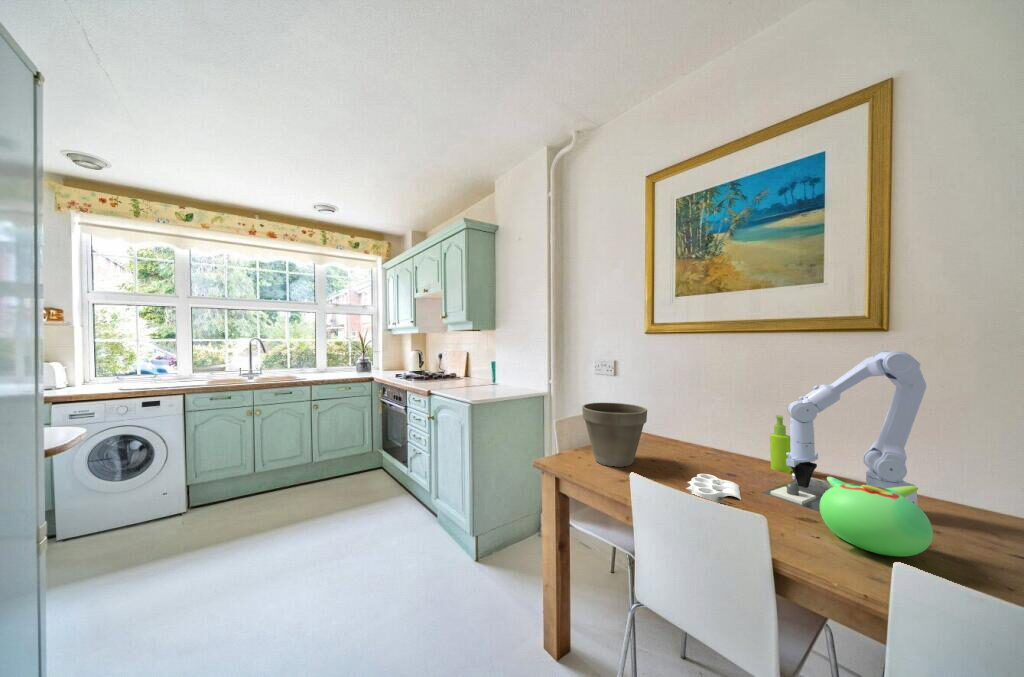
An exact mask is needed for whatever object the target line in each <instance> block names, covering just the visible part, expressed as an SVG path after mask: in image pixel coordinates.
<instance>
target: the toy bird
mask: <svg viewBox="0 0 1024 677" xmlns="http://www.w3.org/2000/svg"><path fill="white" fill-rule="evenodd" d="M826 481H828V482H829V483H830V484H831V486H832V488H830V489H828V490H827V491H826V492H825V493H824V494H823V495H822V497H821V500H820V510H819V512H820V513H819V514H820V516H821V518H822V520H823V522H824V524H825V525H826V527H828V528H829V530H830V531H831V532H832V533H834V535H836V536H837V537H839V538H841V540H843V541H845V542H847V543H849V544H851V545H853V546H855V547H857V548H859V549H862V550H865V551H868V552H871V553H873V554H878V555H883V556H887V557H888V556H889V557H903V558H904V557H910V556H911V557H912V556H917V555H919V554H922V553H923V552H925V551H926V550H927V549H928V548H929V547H930V545H931V543H932V541H933V537H934V532H933V531H934V530H933V526H932V523H931V521H930V519H929V518H928V515H927V514H926V513H925V512H924V511H923V509H921V508H920V507H919V506H918V504H917V505H915V504H914V503H913V502H911V501H910V500H908V499H907V498H906V497H907V496H909V495H911V494H912V493H914V492H916V491H917V492H918V490H919V488H918V487H917V486H916V485H915V486H916V487H915V486H903V487H894V488H886V489H884V488H881V487H875V486H870V485H866V484H863V483H859V482H858V483H853V482H852V483H847V482H844V481H842V480H840V479H838V478H835V477H833V476H827V477H826Z"/></svg>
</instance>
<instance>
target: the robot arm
mask: <svg viewBox="0 0 1024 677" xmlns="http://www.w3.org/2000/svg"><path fill="white" fill-rule="evenodd" d="M881 376H884V377H887V379H888V380H890V382H891V383H892V384H893V385H894V386H895V389H894V394H893V396H892V399H891V401H890V404H889V407H888V410H887V413H886V415H885V418H884V421H883V423H882V424H883V425H882V426H881V429H880V432H879V434H878V435H879V436H878V439H876V440H874V442H872V444H871V446H870V448H869V449H868V450H866V451H865V452H864V454H863V456H862V460H863V463H864V465H865V466H866V467H867V470H866V472H865V478H866V479H865V483H866V484H865V485H870V486H875V487H881V488H884V489H886V488H894V487H903V486H915V487H917V486H916V485H915V484H914V483H910V482H907V481H904V479H905V477H906V476H907V472H908V469H907V466H906V462H907V453H906V451H905V448H906V445H907V441H908V439H909V435H910V433H911V430H912V428H913V425H914V422H915V420H916V417H917V414H918V411H919V408H920V406H921V403H922V401H923V398H924V394H925V393H926V390H927V383H926V381H925V378H924V376H923V373H922V371H921V363H920V362H919V361H918V360H917V359H916V358H915V357H914V356H912V355H911V354H909V353H907V352H904V351H891V350H881V351H877V352H876V353H874V354H873V355H872V356H868V357H866V358H865V359H863V360H862V361H861V362H859V363H858V364H856V366H853V368H851V369H850V370H848V371H847V372H845V373H844V374H843V375H841V376H840V377H839V378H837V379H836V380H835V381H833V382H832V383H830V384H820V385H817V384H815V386H813V387H812V390H811V391H810V392H808V393H807V394H805V395H804V396H802V395H801V396H799V397H798V400H795V401H792V402H791V403H790V404H789V405H788V408H787V409H786V410H787V413H788V415H789V416H790V420H789V422H790V424H789V436H790V449H791V452H788V453H786V455H788V456H789V457H788V458H787V459H786V465H788V466H791V471H793V472H792V473H794V474H795V477H796V480H797V483H798V485H799V486H801V487H804V488H807V487H808V486H809V483H810V480H811V477H812V476H813V474H814V471H815V470H816V469H817V466H818V464H817V463H815V462H816V461H818V460H819V453H818V452H815V449H816V448H815V427H814V421H815V420H816V418H817V416H818V414H820V413H821V412H823V411H824V410H826V409H828V408H829V407H831V406H833V405H834V404H836V403H837V402H838V401H840V400H841V394H842V393H843V392H845V391H847V390H849V389H850V388H852V387H854V386H855V385H858V384H859V383H861V382H863V381H864V380H866V379H868V378H870V377H881ZM906 498H907V499H908V500H910V501H911V502H913V503H914V504H915V505H917V506H918V490H917V491H916V492H914V493H912V494H911V495H909V496H907V497H906Z"/></svg>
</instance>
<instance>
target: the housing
mask: <svg viewBox="0 0 1024 677" xmlns="http://www.w3.org/2000/svg"><path fill="white" fill-rule="evenodd" d="M787 483H795V484H798V483H797V481H794V480H791V481H789V482H786V483H783V484H782V485H779V486H776V487H775V486H774V487H772V488H770V489H767V490H764V491H761V493H762V494H764V495H767V496H770V497H774V498H777V499H780V500H782V501H785V502H787V503H788V502H789V503H791V504H795V505H798V506H800V507H804V508H807V509H810V510H813V511H815V512H820V500H821V497H822V495H823V494H824V493H825V492H824V490H823V488H820V487H816V486H812V485H809V486H808V487H807V488H804V487H801V486H799V491H802V492H805V493H808V494H812V495H815V496H816V499H814V500H811V501H809V502H807V503H804V504H799V503H796V502H793V501H790V500H787V499H784V498H781V497H777V496H774V495H771V494H770V491H773V490H776V489H779V488H781V487H784V486H785V487H787Z"/></svg>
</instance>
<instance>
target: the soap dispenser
mask: <svg viewBox="0 0 1024 677" xmlns="http://www.w3.org/2000/svg"><path fill="white" fill-rule="evenodd" d="M775 418H776V424H774V426H773V433H770V435H769V442H770V443H769V444H770V445H769V446H770V469H771V470H773V471H777V472H781V473H785V474H788V475H792V468H791V466H788V465H786V459H787V458H788V457H789V456H788V455H786V453H788V452H791V449H790V435H788V434H787V431H786V429H787V427H786V425H785V424H783V421H784V416H783V415H779V414H776V415H775Z"/></svg>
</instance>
